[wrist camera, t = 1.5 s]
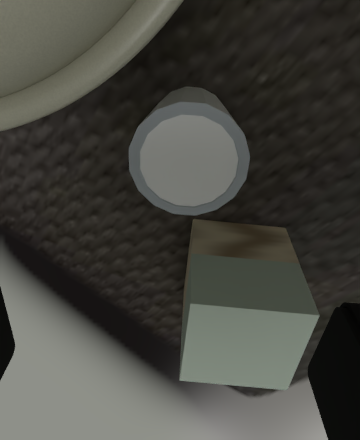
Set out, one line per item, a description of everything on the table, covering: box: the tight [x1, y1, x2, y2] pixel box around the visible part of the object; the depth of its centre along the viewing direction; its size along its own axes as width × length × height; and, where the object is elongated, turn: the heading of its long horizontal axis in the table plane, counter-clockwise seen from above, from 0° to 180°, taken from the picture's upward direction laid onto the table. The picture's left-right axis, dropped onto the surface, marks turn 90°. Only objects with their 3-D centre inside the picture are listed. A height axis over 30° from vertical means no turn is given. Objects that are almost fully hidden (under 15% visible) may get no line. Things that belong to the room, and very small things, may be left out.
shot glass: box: [129, 87, 250, 215], centre depth 22 cm, size 7×7×7 cm
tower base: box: [182, 219, 300, 323], centre depth 30 cm, size 8×8×5 cm
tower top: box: [180, 254, 320, 390], centre depth 25 cm, size 8×8×5 cm
